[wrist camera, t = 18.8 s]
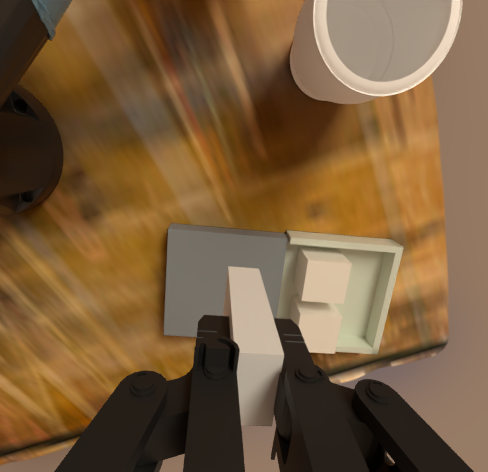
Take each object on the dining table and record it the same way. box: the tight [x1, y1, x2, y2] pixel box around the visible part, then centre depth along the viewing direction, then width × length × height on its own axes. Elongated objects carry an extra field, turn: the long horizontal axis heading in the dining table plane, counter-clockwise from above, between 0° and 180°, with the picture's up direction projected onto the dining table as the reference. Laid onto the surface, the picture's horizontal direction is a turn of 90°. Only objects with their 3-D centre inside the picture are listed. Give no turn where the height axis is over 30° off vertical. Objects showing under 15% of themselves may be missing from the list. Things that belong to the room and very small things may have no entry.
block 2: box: [289, 295, 342, 354], centre depth 43 cm, size 5×5×5 cm
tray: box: [276, 230, 403, 354], centre depth 43 cm, size 14×15×3 cm
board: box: [164, 223, 288, 337], centre depth 43 cm, size 14×14×2 cm
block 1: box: [293, 246, 352, 304], centre depth 41 cm, size 5×5×5 cm
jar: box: [290, 0, 463, 104], centre depth 30 cm, size 11×10×15 cm
